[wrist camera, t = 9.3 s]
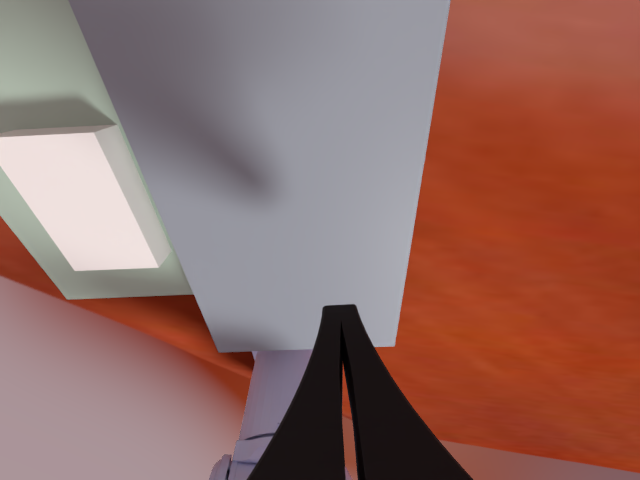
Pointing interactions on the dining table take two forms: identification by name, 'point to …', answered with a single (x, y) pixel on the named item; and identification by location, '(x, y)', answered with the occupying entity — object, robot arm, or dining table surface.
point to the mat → (63, 111)
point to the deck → (278, 149)
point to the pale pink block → (86, 195)
